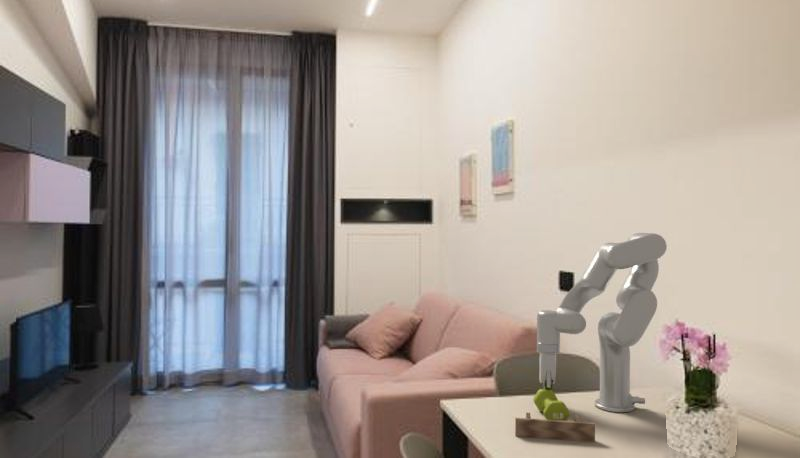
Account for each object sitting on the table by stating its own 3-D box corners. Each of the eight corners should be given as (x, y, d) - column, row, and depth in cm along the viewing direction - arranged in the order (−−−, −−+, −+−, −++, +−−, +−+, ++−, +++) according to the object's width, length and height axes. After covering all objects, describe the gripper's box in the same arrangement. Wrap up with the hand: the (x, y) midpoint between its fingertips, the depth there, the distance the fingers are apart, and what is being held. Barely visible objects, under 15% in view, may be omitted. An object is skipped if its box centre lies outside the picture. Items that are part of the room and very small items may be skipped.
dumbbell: (570, 427, 174) (571, 403, 174) (544, 426, 174) (544, 403, 174) (556, 409, 190) (556, 387, 190) (532, 409, 190) (532, 387, 190)
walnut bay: (589, 428, 173) (589, 411, 173) (594, 441, 162) (595, 424, 162) (515, 423, 177) (515, 406, 177) (515, 436, 166) (515, 418, 166)
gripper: (536, 342, 201) (535, 395, 201) (537, 351, 186) (536, 408, 186) (558, 343, 199) (558, 396, 199) (561, 353, 185) (560, 410, 185)
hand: (547, 402), depth 193 cm, fingers closed
